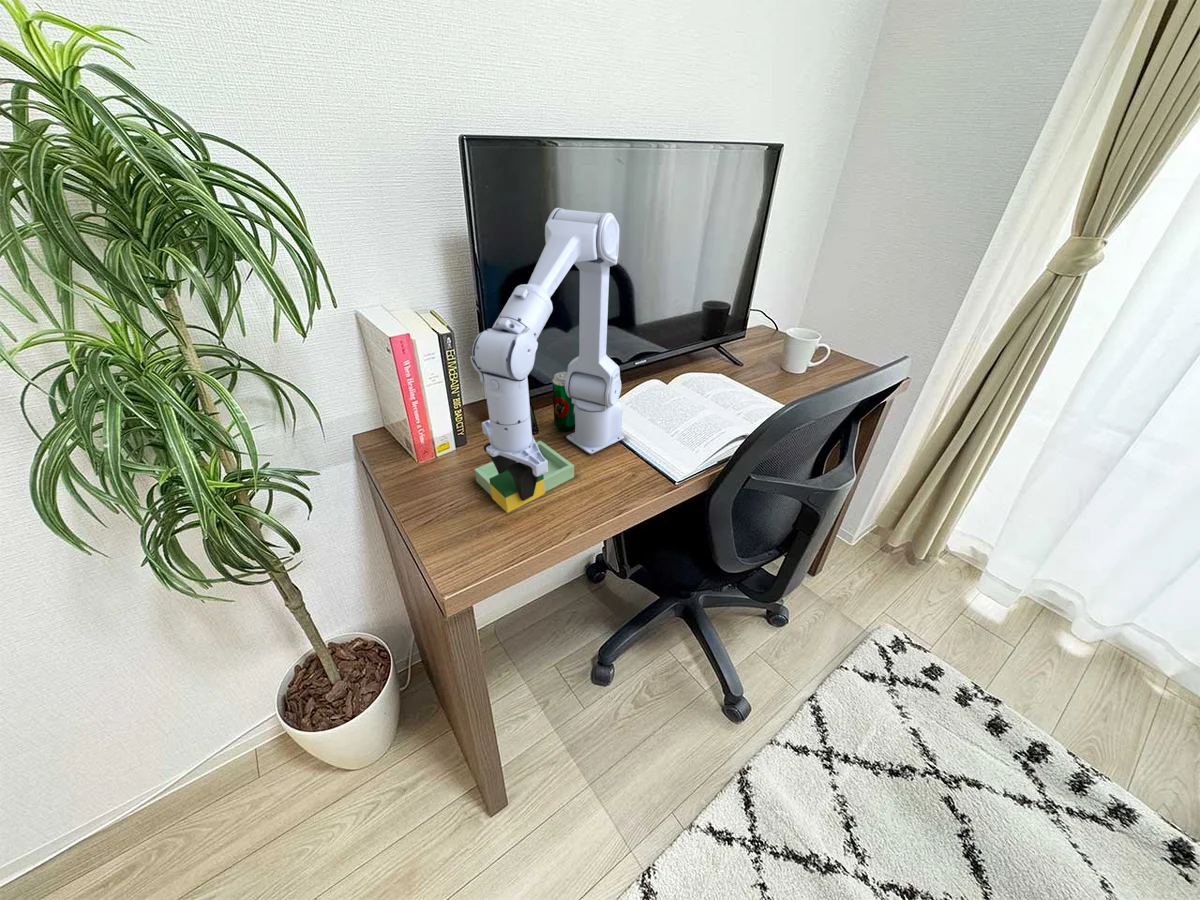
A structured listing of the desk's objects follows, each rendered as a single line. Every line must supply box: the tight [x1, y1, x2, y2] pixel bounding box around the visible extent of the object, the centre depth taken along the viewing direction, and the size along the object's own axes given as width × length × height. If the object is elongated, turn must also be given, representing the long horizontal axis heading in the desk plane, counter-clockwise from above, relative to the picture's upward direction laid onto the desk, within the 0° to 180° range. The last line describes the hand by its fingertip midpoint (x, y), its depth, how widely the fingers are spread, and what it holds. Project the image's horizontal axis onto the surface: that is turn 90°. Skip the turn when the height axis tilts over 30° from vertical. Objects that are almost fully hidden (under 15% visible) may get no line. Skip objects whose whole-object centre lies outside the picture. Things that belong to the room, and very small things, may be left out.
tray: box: [474, 440, 575, 497], centre depth 87 cm, size 15×11×3 cm
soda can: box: [551, 371, 575, 432], centre depth 99 cm, size 5×5×12 cm
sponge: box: [489, 470, 546, 514], centre depth 74 cm, size 7×4×4 cm, turn 131°
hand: (517, 489), depth 74 cm, fingers closed on sponge, 4 cm apart
